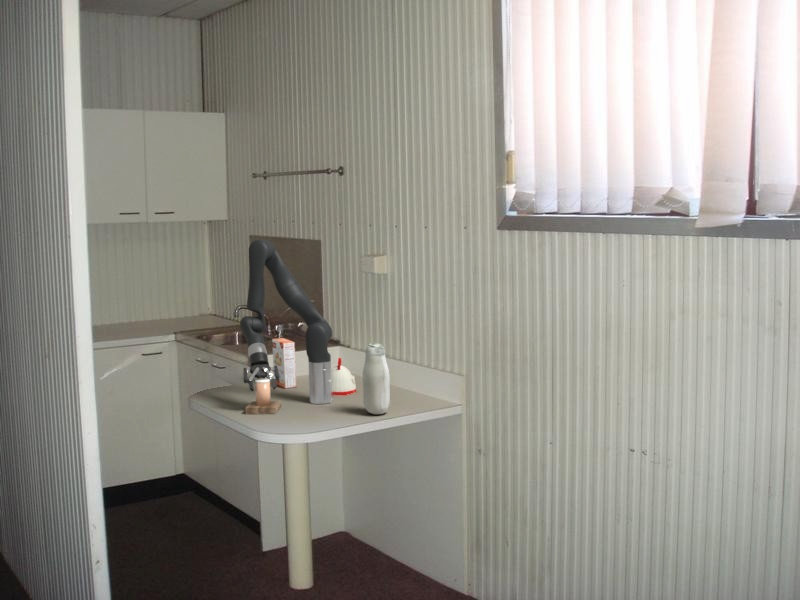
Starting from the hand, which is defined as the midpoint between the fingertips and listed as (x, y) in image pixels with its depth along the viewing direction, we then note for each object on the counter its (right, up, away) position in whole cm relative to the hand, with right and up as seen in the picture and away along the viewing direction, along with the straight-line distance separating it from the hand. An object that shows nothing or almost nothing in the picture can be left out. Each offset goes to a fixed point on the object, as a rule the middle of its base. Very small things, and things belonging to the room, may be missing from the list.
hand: (263, 389), depth 368 cm
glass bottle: (+45, -9, -7) cm, 47 cm away
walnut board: (0, -9, +2) cm, 9 cm away
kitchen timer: (+28, -5, +35) cm, 45 cm away
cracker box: (+2, -3, +51) cm, 51 cm away
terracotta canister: (0, -6, +2) cm, 7 cm away
